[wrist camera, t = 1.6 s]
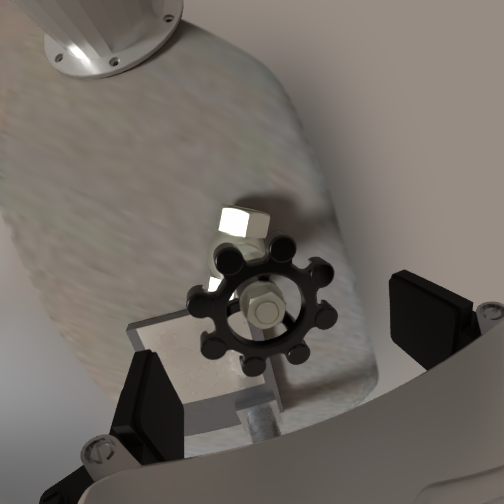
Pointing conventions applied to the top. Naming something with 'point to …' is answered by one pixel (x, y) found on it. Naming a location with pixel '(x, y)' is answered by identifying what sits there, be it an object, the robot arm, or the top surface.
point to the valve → (257, 291)
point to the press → (212, 376)
